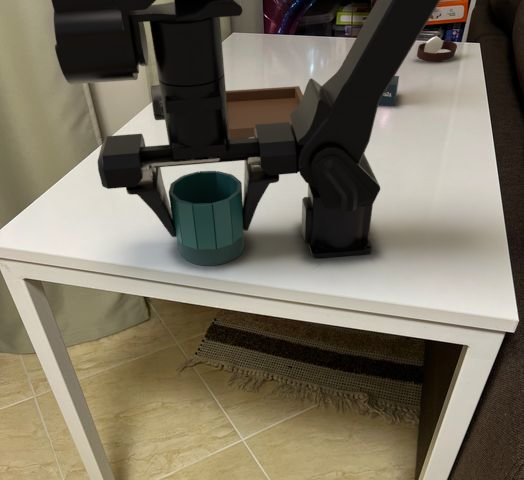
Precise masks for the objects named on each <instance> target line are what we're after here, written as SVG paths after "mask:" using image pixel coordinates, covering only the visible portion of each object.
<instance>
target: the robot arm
mask: <svg viewBox="0 0 524 480" xmlns="http://www.w3.org/2000/svg"><path fill="white" fill-rule="evenodd" d="M156 1H157V0H51V1H50V2H51V4H52V8H53V29H54V36H55V42H56V43H55V44H54V51H55V54H56V55H55V56H56V58H57V61H58V65H59V67H60V70H61V72H62V75H63V77H64V79H65V80H66V82H67V83H68V84H69V85H78V84H79V85H80V84H81V85H82V84H96V83H111V82H112V83H113V82H127V81H128V82H129V81H137V80H138V78H139V74H140V66H141V67H148V66H149V49H148V39H147V33H146V28H145V23H149V27H150V34H151V41H152V46H153V52H154V53H153V54H154V59H155V65H156V71H157V78H158V84H155V85H150V94H151V105H152V113H153V117H154V120H155V121H164V123H165V128H166V135H167V140H168V141H167V142H168V144H159V145H147V146H146V141H145V137H144V135H143V133H132V134H131V133H130V134H119V135H107V136H106V137H105V138H104V140H103V141H102V143H101V146H100V150H99V153H98V158H97V171H98V174H99V179H100V181H101V186H102V187H103V188H105V189H107V190H110V189H111V190H112V189H123V188H125V189H126V193H127V195H128V194H129V195H130V196H131V195H137V196H138V197H139V198H140V199H141V200H142V201H143V202H144V203H145V204H146V205H147V206H148V208H150V210H151V211H152V212H153V213H154V214H155V216H156V217H157V218H158V220H159V221H160V223H161V224H162V225H163V227H164V228H165V230H166V231H167V232H168V234H169V235H170V237H172V238H176V235H175V229H174V223H173V218H172V211H171V205H170V199H169V196H168V193H167V190H166V187H165V184H164V179H163V175H162V169H161V168H168V167H177V166H179V167H180V166H191V165H204V164H216V163H228V162H241V161H244V179H243V193H242V201H243V226H244V232H247V231H249V228H250V226H251V224H252V221H253V218H254V215H255V214H256V210H257V208H258V205H259V203H260V201H261V199H262V198H263V196H264V194H265V192H266V191H267V189H268V187H269V185H270V184H275V183H278V182H279V181H280V176H282V175H291V174H298V173H299V175H300V177H301V178H302V179H303V180H304V182H305V183H306V184H307V196H304V197H303V198H302V199H301V203H302V204H301V227H300V228H301V234H302V237H303V241H304V243H305V244H306V245H308V248H309V251H310V255H311V256H312V257H313V258H327V257H339V256H351V255H364V254H371V253H373V245H372V242H371V241H370V231H371V222H372V213H373V205H374V203H375V201H376V199H377V197H378V196H379V193H380V191H381V186H380V183H379V182H378V179H377V178H376V175H375V173H374V171H373V169H372V167H371V164H370V163H369V160H368V158H367V157H366V155H365V152H366V149H367V148H368V146H369V143H370V140H371V136H372V132H373V128H374V124H375V120H376V117H377V116H376V115H377V111H378V108H379V105H378V104H379V102H380V99H381V97H382V96H383V94H384V92H385V91H386V89H387V87H388V86H389V84H390V83H391V81H392V79H393V78H394V76H396V74H397V73H398V71H399V69H400V68H401V66H402V65H403V64H404V62H405V59H406V58H407V56H408V55H409V53H410V52H411V50H412V48H413V46H414V45H415V43H416V42H417V41H418V38H419V37H420V35H421V33H422V31H423V30H424V28H425V27H426V25H427V23H428V22H429V20H430V18H431V17H432V15H433V14H434V12H435V10H436V8H437V7H438V5H439V4H440V2H441V0H376V1H375V3H374V5H373V7H372V8H371V10H370V12H369V14H368V16H367V17H366V20H365V21H364V23H363V25H362V27H361V28H360V31H359V33H357V36H356V38H355V40H354V42H353V44H352V45H351V47H350V48H349V51H348V53H347V55H346V56H345V58H344V60H343V62H342V64H341V66H340V67H339V68H338V70H337V71H336V72H335V73H334V74H333V75H332V76H331V77H330V78H328V80H327V81H326V82H324V84H322V85H321V84H320V83H318V81H316V80H315V79H314V78H309V80H308V82H307V83H306V86H305V88H304V92H303V98H302V100H301V102H300V104H299V105H298V107H297V108H296V109H295V110H294V111H293V112H292V113H291V114H290V119H291V123H292V125H291V124H290V123H289V122H283V123H270V124H257V125H255V130H254V131H255V137H250V138H247V139H234V140H230V137H229V124H228V112H227V100H226V91H227V89H226V87H227V86H226V76H225V64H224V53H223V39H222V38H223V37H222V28H221V27H222V26H221V18H231V17H240V16H242V14H243V5H242V0H174V1H172V2H165V3H158V4H154V3H155V2H156Z"/></svg>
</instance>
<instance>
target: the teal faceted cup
mask: <svg viewBox="0 0 524 480" xmlns="http://www.w3.org/2000/svg"><path fill="white" fill-rule="evenodd" d="M168 200H169V204H170V207H171V211H172V218H173V223H174V229H175V235H176V237H175V238H176V243H177V249H178V253H179V255H180V257H181V258H182V259H183V260H185V261H187V262H188V263H191V264H194V265H198V266H218V265H223V264H226V263H229V262H232V261H233V260H235V259H237V258H238V257H240V255H241V254H242V253H243V252H244V249H245V231H244V226H243V184H242V181H241V180H240V179H239V178H237V177H236V176H235V175H233V174H232V173H227V172H223V171H219V170H200V171H195V172H191V173H187V174H184V175H181V176H180V177H178V178H176V179H175V180H173V182H171V183H170V185H169V190H168Z"/></svg>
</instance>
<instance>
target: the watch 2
mask: <svg viewBox="0 0 524 480" xmlns="http://www.w3.org/2000/svg"><path fill="white" fill-rule="evenodd" d="M417 47H418V48H417V50H416V51H417V52H416V57H417V58H418V59H419V60H421V61H425V62H432V63H443V62H444V61H449V60H451V59H453V58H454V57H455V54H456V51H457V48H458V44H457V43H456V42H454V41H451V40H442V39H441V38H440V37H438V35H435V36H433V37H431V38H430V39H428V40H427V41H426V42H423V43H420V44H419V45H418V46H417ZM441 50H445V51H444V52H439V51H441Z"/></svg>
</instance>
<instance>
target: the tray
mask: <svg viewBox="0 0 524 480" xmlns="http://www.w3.org/2000/svg"><path fill="white" fill-rule="evenodd" d="M303 95H304V93H303V92H302V90H301V87H300V86H299V85H296V86H282V87H267V88H266V87H265V88H252V89H251V88H250V89H249V88H247V89H232V90H231V89H230V90H226V100H227V112H228V124H229V137H230V140H234V139H247V138H250V137H255V131H254V130H255V125H257V124H270V123H283V122H289V123H290V124H291V125H292V123H291V119H290V114H291V113H292V112H293V111H294V110H295V109H296V108H297V107H298V105H299V104H300V102H301V100H302V98H303Z"/></svg>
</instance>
